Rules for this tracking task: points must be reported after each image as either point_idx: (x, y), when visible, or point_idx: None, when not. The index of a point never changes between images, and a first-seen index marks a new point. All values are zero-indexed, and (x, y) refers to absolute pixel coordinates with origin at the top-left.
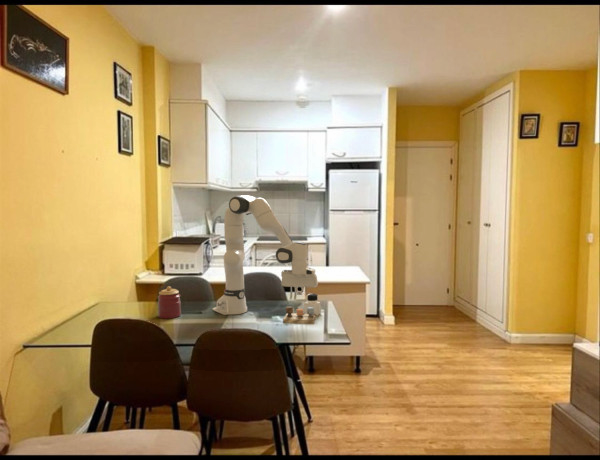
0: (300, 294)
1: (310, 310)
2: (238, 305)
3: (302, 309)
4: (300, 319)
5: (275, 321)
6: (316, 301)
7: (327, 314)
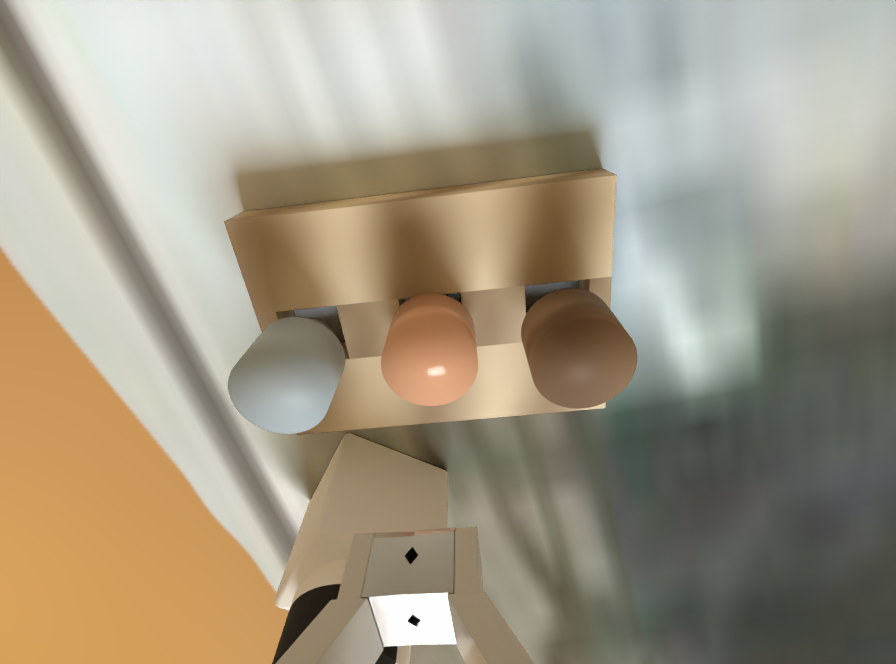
0: (382, 535)
1: (266, 342)
2: None
3: (395, 373)
4: (386, 205)
5: (702, 185)
6: (294, 594)
7: (250, 502)
